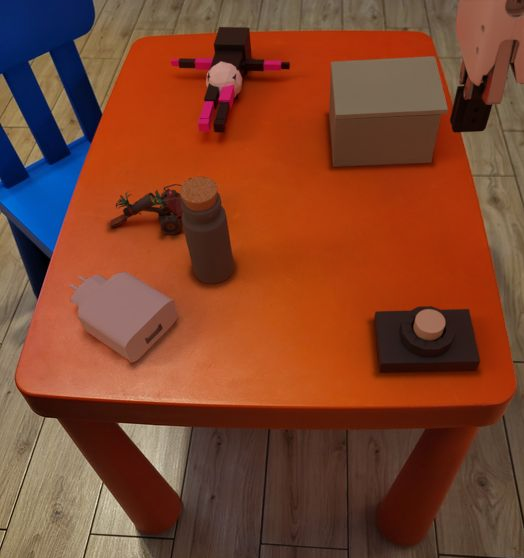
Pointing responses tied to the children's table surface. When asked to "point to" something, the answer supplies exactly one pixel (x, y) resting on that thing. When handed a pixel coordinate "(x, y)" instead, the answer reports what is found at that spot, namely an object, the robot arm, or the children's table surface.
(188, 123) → the children's table surface
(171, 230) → the toy vehicle
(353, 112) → the lid
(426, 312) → the button
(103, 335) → the charger
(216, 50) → the blocky doll
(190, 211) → the bottle
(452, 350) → the control block
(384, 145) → the chest
